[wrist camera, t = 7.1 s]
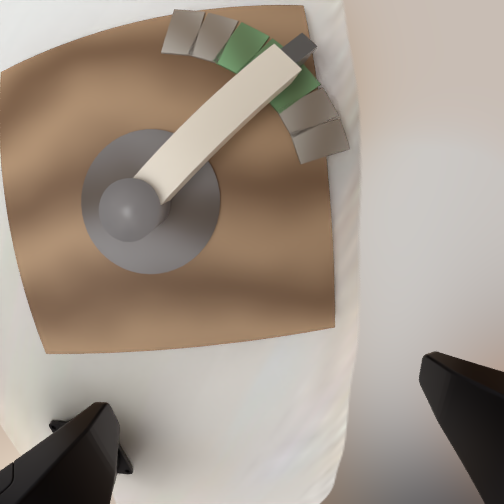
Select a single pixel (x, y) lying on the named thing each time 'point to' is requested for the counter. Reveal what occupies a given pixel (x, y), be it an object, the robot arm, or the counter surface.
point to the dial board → (184, 202)
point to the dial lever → (198, 142)
